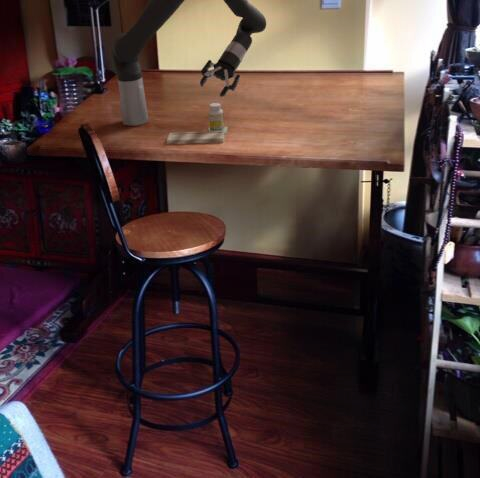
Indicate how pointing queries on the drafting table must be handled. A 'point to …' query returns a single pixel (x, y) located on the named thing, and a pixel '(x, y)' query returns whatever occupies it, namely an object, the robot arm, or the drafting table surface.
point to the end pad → (223, 130)
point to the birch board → (196, 137)
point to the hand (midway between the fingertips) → (211, 90)
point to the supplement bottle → (216, 117)
